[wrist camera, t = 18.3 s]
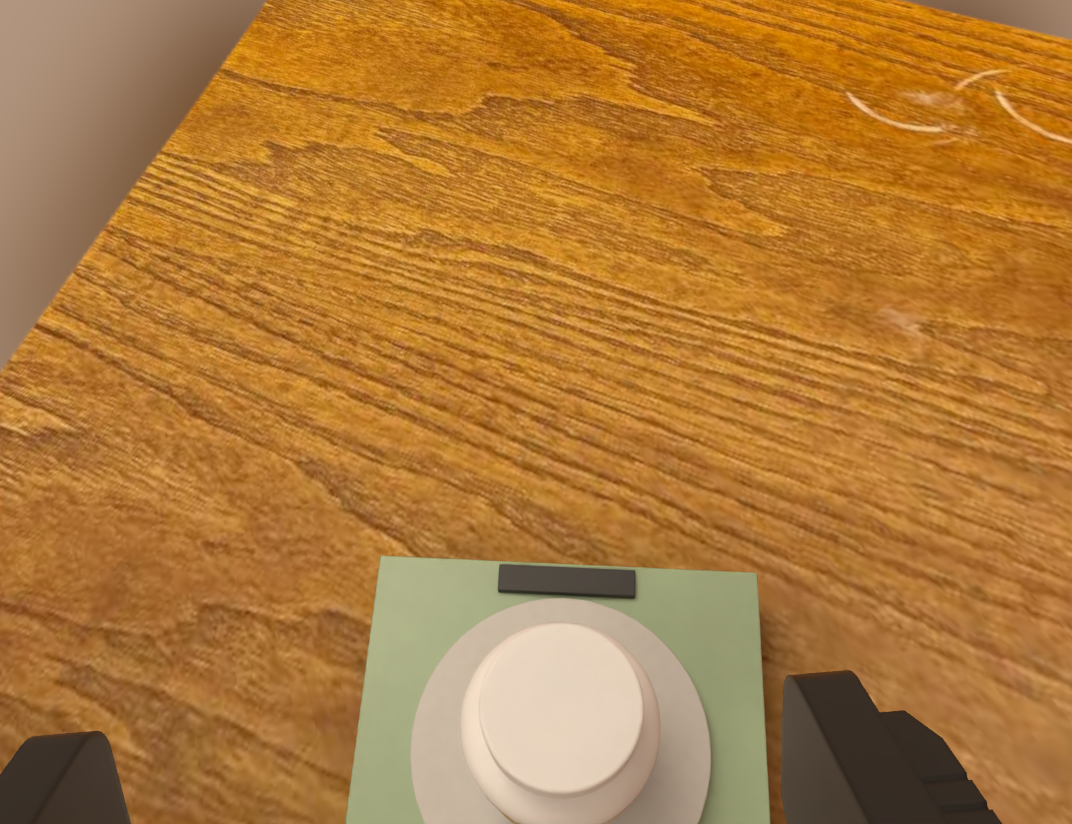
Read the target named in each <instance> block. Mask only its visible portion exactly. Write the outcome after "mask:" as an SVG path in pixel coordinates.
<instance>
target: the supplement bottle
mask: <svg viewBox="0 0 1072 824" xmlns="http://www.w3.org/2000/svg"><path fill="white" fill-rule="evenodd" d="M660 732H661V722H660V712H659V707H658V702H657V698H656V695H655V691H654V689H653V686H652V684H651V681H650V679H649V677H648V676H647V674H646V672H645V670H644V669H643V667H642V665H641V664H640V663H639V662H638V660H637V659H636V658H635V656H634V655H633V654H632V653H631V652H630V651H629V650H628V649H627V648H626V647H624V646H623V645H622V644H621V643H620V642H618V641H617V640H616V639H614V638H612V637H611V636H609V635H608V634H606V633H604V632H602V631H600V630H597V629H595V628H592V627H589V626H585V625H581V624H577V623H568V622H554V623H543V624H538V625H534V626H531V627H528V628H525V629H523V630H521V631H518V632H516V633H515V634H513V635H511V636H509V637H508V638H506V639H505V640H503V641H502V642H501V643H499V644H498V645H497V646H496V647H494V648H493V649H492V650H491V651H490V652H489V653H488V655H487V656H486V657H485V658H484V659H483V661H482V662H481V663H480V665H479V666H478V668H477V669H476V671H475V672H474V674H473V676H472V678H471V680H470V682H469V685H468V687H467V689H466V692H465V696H464V699H463V704H462V709H461V717H460V736H461V744H462V749H463V754H464V757H465V760H466V763H467V766H468V768H469V770H470V773H471V775H472V777H473V779H474V780H475V782H476V784H477V785H478V787H479V788H480V790H481V791H482V793H483V794H484V795H485V796H486V798H487V799H488V800H489V801H490V802H491V803H492V804H493V805H494V806H495V807H496V808H497V809H498V810H499V811H500V812H501V813H502V814H503V815H504V816H505V817H506V818H508V819H509V820H510V821H511V822H513V823H514V824H609V823H610V822H611V821H612V820H614V819H615V818H616V817H617V816H618V815H619V814H620V813H621V812H622V811H624V810H625V809H626V808H627V807H628V806H629V805H630V804H631V803H632V802H633V801H634V800H635V798H636V797H637V796H638V795H639V793H640V792H641V790H642V789H643V787H644V786H645V784H646V782H647V780H648V778H649V776H650V774H651V772H652V769H653V766H654V764H655V761H656V757H657V753H658V749H659V743H660Z"/></svg>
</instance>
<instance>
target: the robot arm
mask: <svg viewBox="0 0 1072 824" xmlns="http://www.w3.org/2000/svg"><path fill="white" fill-rule="evenodd" d="M781 792H782V800H783V807H784V813H785V817H786V822H787V824H1002V823H1001V822H1000V820H999V819H998V817H997V816H996V814H995V813H994V812H993V810H989V809H988V807H987V801H986V800H985V799H984V797H983V796H982V794H981V793H980V791H979V790H978V789H977V787H976V786H975V784H974V783H973V781H972V780H968V778H967V773H966V771H965V770H964V768H963V767H962V766H961V764H960V763H959V761H958V760H957V758H956V757H955V756H954V754H953V753H952V751H951V750H950V748H949V747H948V745H947V744H946V743H945V741H944V740H943V738H941V737H940V736H939V735H937V734H936V733H934V732H933V731H932V730H930V729H929V728H928V727H926V726H925V725H923V724H922V723H921V722H919V721H918V720H917V719H915V718H914V717H913V716H911V715H910V714H908V713H907V712H906V711H892V712H880V713H879V711H878V709H877V708H876V706H875V705H874V703H873V701H872V700H871V698H870V697H869V695H868V693H867V692H866V690H865V689H864V687H863V685H862V684H861V682H860V680H859V679H858V677H857V676H856V675H855V674H854V673H853V672H852V671H850V670H844V671H833V672H821V673H809V674H797V675H788V676H787V677H786V679H785V681H784V687H783V713H782V754H781ZM0 824H131V823H130V819H129V815H128V811H127V807H126V804H125V800H124V796H123V792H122V788H121V784H120V781H119V777H118V773H117V769H116V765H115V761H114V758H113V754H112V750H111V747H110V744H109V741H108V739H107V737H106V736H105V735H104V734H103V733H102V732H100V731H91V732H79V733H67V734H55V735H43V736H33V737H31V738H29V739H27V740H26V741H25V742H24V743H23V744H22V745H21V747H20V748H19V749H18V751H17V752H16V754H15V755H14V756H13V758H12V759H11V761H10V762H9V763H8V765H7V766H6V768H5V769H4V770H3V772H2V773H1V774H0Z"/></svg>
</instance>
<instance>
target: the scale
mask: <svg viewBox="0 0 1072 824" xmlns="http://www.w3.org/2000/svg"><path fill="white" fill-rule="evenodd" d="M554 622H568V623H577V624H581V625H585V626H589V627H592V628H595V629H597V630H600V631H602V632H604V633H606V634H608V635H609V636H611V637H612V638H614V639H616V640H617V641H618V642H620V643H621V644H622V645H623V646H624V647H626V648H627V649H628V650H629V651H630V652H631V653H632V654H633V655H634V656H635V658H636V659H637V660H638V662H639V663H640V664H641V665H642V667H643V669H644V670H645V672H646V674H647V676H648V677H649V679H650V681H651V684H652V686H653V689H654V691H655V695H656V698H657V702H658V707H659V712H660V722H661V732H660V743H659V749H658V753H657V757H656V761H655V764H654V766H653V769H652V772H651V774H650V776H649V778H648V780H647V782H646V784H645V786H644V787H643V789H642V790H641V792H640V793H639V795H638V796H637V797H636V798H635V800H634V801H633V802H632V803H631V804H630V805H629V806H628V807H627V808H626V809H625V810H624V811H622V812H621V813H620V814H619V815H618V816H617V817H616V818H615V819H614V820H612V821H611V822H610V823H609V824H771V823H770V805H769V786H768V767H767V748H766V729H765V710H764V691H763V673H762V654H761V635H760V616H759V597H758V578H757V573H748V572H727V571H705V570H683V569H661V568H639V567H617V566H596V565H574V564H552V563H530V562H508V561H487V560H465V559H443V558H421V557H399V556H381V557H380V563H379V571H378V579H377V586H376V594H375V602H374V609H373V617H372V624H371V632H370V640H369V647H368V655H367V662H366V670H365V678H364V685H363V693H362V700H361V708H360V716H359V723H358V731H357V739H356V746H355V754H354V761H353V769H352V777H351V784H350V792H349V799H348V807H347V815H346V822H345V824H514V823H513V822H511V821H510V820H509V819H508V818H506V817H505V816H504V815H503V814H502V813H501V812H500V811H499V810H498V809H497V808H496V807H495V806H494V805H493V804H492V803H491V802H490V801H489V800H488V799H487V798H486V796H485V795H484V794H483V793H482V791H481V790H480V788H479V787H478V785H477V784H476V782H475V780H474V779H473V777H472V775H471V773H470V770H469V768H468V766H467V763H466V760H465V757H464V754H463V749H462V744H461V736H460V717H461V709H462V704H463V699H464V696H465V692H466V689H467V687H468V685H469V682H470V680H471V678H472V676H473V674H474V672H475V671H476V669H477V668H478V666H479V665H480V663H481V662H482V661H483V659H484V658H485V657H486V656H487V655H488V653H489V652H490V651H491V650H492V649H493V648H494V647H496V646H497V645H498V644H499V643H501V642H502V641H503V640H505V639H506V638H508V637H509V636H511V635H513V634H515V633H516V632H518V631H521V630H523V629H525V628H528V627H531V626H534V625H538V624H543V623H554Z"/></svg>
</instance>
